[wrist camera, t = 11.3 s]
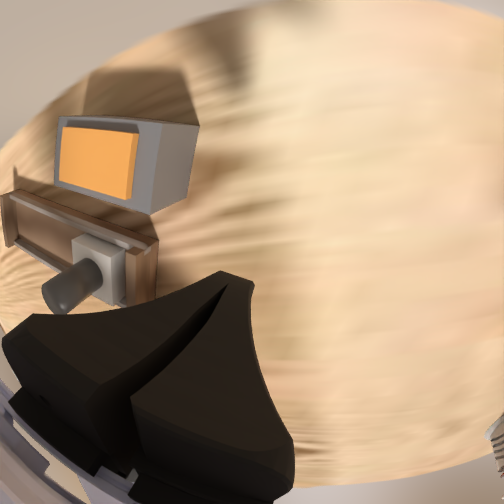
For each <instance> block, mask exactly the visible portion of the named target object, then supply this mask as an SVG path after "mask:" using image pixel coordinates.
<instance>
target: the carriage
mask: <svg viewBox="0 0 504 504" xmlns="http://www.w3.org/2000/svg"><path fill="white" fill-rule="evenodd" d="M72 254H73V265H72V266H70V267H69V268H67V269H66V270H64V271H63V272H61V273H59V274H58V275H56V276H55V277H53V278H52V279H50V280H49V281H47V282H46V283H44V284H43V285H42V295H43V298H44V300H45V302H46V304H47V306H48V307H49V309H50V310H51V311H52V312H53V313H54V314H62V315H66V314H67V313H69V312H70V311H71V310H72V309H74V308H75V307H76V306H77V305H79V304H80V303H81V302H82V301H84V300H85V299H86V298H87V297H89V296H90V295H93V296H94V297H96V298H98V299H100V300H102V301H104V302H106V303H108V304H109V305H111V306H114V305H115V304H116V303H118V302H119V301H120V300H121V299H122V298H123V297H124V296H125V248H122V247H120V246H117V245H115V244H112V243H110V242H108V241H105V240H103V239H100V238H98V237H95V236H93V235H91V234H88V233H84V234H82V235H80V236H78V237H76V238H74V239H72Z"/></svg>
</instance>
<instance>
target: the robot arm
mask: <svg viewBox="0 0 504 504" xmlns="http://www.w3.org/2000/svg"><path fill="white" fill-rule="evenodd" d="M254 286H255V285H254V283H253V281H250V280H247V279H244V278H241V277H238V276H235V275H232V274H229V273H226V272H223V271H218V272H216V273H214V274H212V275H210V276H208V277H206V278H204V279H202V280H200V281H198V282H196V283H194V284H192V285H189V286H187V287H185V288H183V289H181V290H178V291H176V292H173V293H171V294H168V295H166V296H163V297H161V298H158V299H155V300H152V301H148V302H145V303H141V304H138V305H134V306H130V307H125V308H120V309H114V310H109V311H103V312H95V313H85V314H66V315H62V314H34V313H33V314H32V315H30V316H29V317H28V318H26V319H25V320H24V321H23V322H21V323H20V324H19V325H18V326H16V327H15V328H14V329H13V330H11V331H10V332H9V333H8V334H6V335H5V336H4V337H3V338H2V348H3V352H4V354H5V356H6V358H7V360H8V362H9V364H10V366H11V368H12V370H13V372H14V374H15V375H16V377H17V379H18V381H19V382H20V384H21V386H22V388H20V390H18V392H16V394H14V393H13V392H12V391H11V390H10V389H9V388H8V387H7V386H6V385H5V384H4V382H3V381H2V380H1V379H0V504H86V503H84V502H83V501H81V500H80V499H78V498H77V497H75V496H74V495H73V494H71V493H70V492H68V491H67V490H66V489H64V488H63V487H62V486H60V485H59V484H58V483H57V482H55V481H54V480H53V479H51V478H50V477H49V476H48V475H46V474H45V470H46V469H47V468H48V466H49V465H50V464H49V461H47V460H46V459H45V458H44V457H43V456H42V455H41V454H39V452H38V451H37V450H36V449H35V448H33V447H32V446H31V445H30V444H29V442H28V441H27V440H26V439H25V438H24V437H23V436H22V435H21V434H20V433H19V432H18V431H17V430H16V429H15V428H14V427H13V419H14V420H15V421H16V422H17V423H18V424H19V425H20V426H21V427H22V428H23V429H24V430H25V431H26V432H27V433H28V434H29V435H30V436H31V437H32V438H33V439H34V440H35V441H36V442H38V443H39V444H40V445H41V446H42V447H43V448H44V449H46V450H47V451H48V452H49V453H50V454H51V455H53V456H54V457H55V458H56V459H58V460H59V461H60V462H62V463H63V464H64V465H65V466H67V467H68V468H69V469H71V470H72V471H73V472H75V473H76V474H77V476H78V478H79V480H80V482H81V484H82V486H83V488H84V490H85V492H86V494H87V496H88V498H89V500H90V502H91V504H273V502H274V500H276V499H278V498H279V497H281V496H283V495H285V494H286V493H288V492H289V491H290V490H291V489H292V488H293V483H294V476H295V454H294V444H293V439H292V437H291V436H290V434H289V432H288V431H287V429H286V427H285V425H284V423H283V422H282V420H281V418H280V416H279V414H278V412H277V410H276V408H275V406H274V403H273V401H272V399H271V397H270V394H269V392H268V389H267V386H266V384H265V381H264V378H263V376H262V373H261V370H260V366H259V363H258V359H257V355H256V351H255V346H254V341H253V334H252V326H251V297H252V293H253V290H254Z"/></svg>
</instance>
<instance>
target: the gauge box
mask: <svg viewBox="0 0 504 504" xmlns="http://www.w3.org/2000/svg"><path fill="white" fill-rule="evenodd" d="M63 127H83V128H95V129H106V130H115V131H123V132H131V133H139V138H138V145H137V152H136V159H135V167H134V175H133V185H132V196H131V198H130V199H127V200H124V199H120V198H117V197H114V196H110V195H107V194H103V193H100V192H97V191H93V190H90V189H87V188H83V187H80V186H76V185H73V184H69V183H66V182H63V181H59V168H60V151H61V140H62V130H63ZM199 127H200V126H195V125H189V124H183V123H176V122H169V121H161V120H153V119H144V118H133V117H121V116H107V115H81V116H59V121H58V129H57V139H56V151H55V169H54V185H55V186H58V187H61V188H65V189H68V190H71V191H74V192H78V193H81V194H84V195H87V196H91V197H94V198H97V199H100V200H103V201H107V202H110V203H113V204H116V205H120V206H123V207H126V208H129V209H132V210H136V211H139V212H142V213H145V214H148V215H151V214H153V213H155V212H157V211H159V210H161V209H163V208H165V207H167V206H170V205H172V204H174V203H176V202H178V201H180V200H182V199H185V198H186V197H187V191H188V185H189V179H190V173H191V167H192V162H193V157H194V151H195V146H196V141H197V136H198V132H199Z"/></svg>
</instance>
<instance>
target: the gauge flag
mask: <svg viewBox="0 0 504 504" xmlns="http://www.w3.org/2000/svg"><path fill="white" fill-rule="evenodd" d="M138 138H139V133H131V132H123V131H115V130H106V129H95V128H83V127H63V130H62V140H61V151H60V168H59V181H63V182H66V183H69V184H73V185H76V186H80V187H83V188H87V189H90V190H93V191H97V192H100V193H103V194H107V195H110V196H114V197H117V198H120V199H124V200H127V199H130V198H131V196H132V185H133V175H134V167H135V159H136V152H137V145H138Z"/></svg>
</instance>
